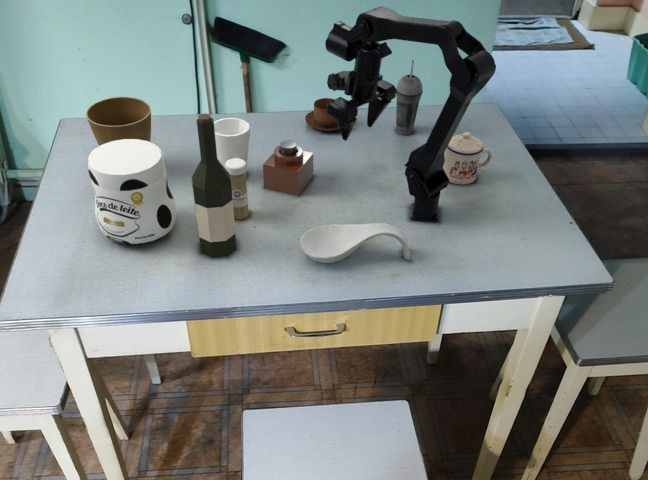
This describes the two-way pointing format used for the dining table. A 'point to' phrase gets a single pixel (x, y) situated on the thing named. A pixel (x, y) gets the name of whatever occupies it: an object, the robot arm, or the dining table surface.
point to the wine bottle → (213, 196)
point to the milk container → (131, 191)
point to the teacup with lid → (464, 158)
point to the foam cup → (232, 139)
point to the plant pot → (120, 119)
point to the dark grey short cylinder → (288, 148)
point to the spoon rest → (346, 240)
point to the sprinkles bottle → (238, 187)
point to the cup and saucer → (322, 117)
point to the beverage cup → (407, 102)
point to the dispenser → (288, 171)
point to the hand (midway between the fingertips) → (357, 133)
